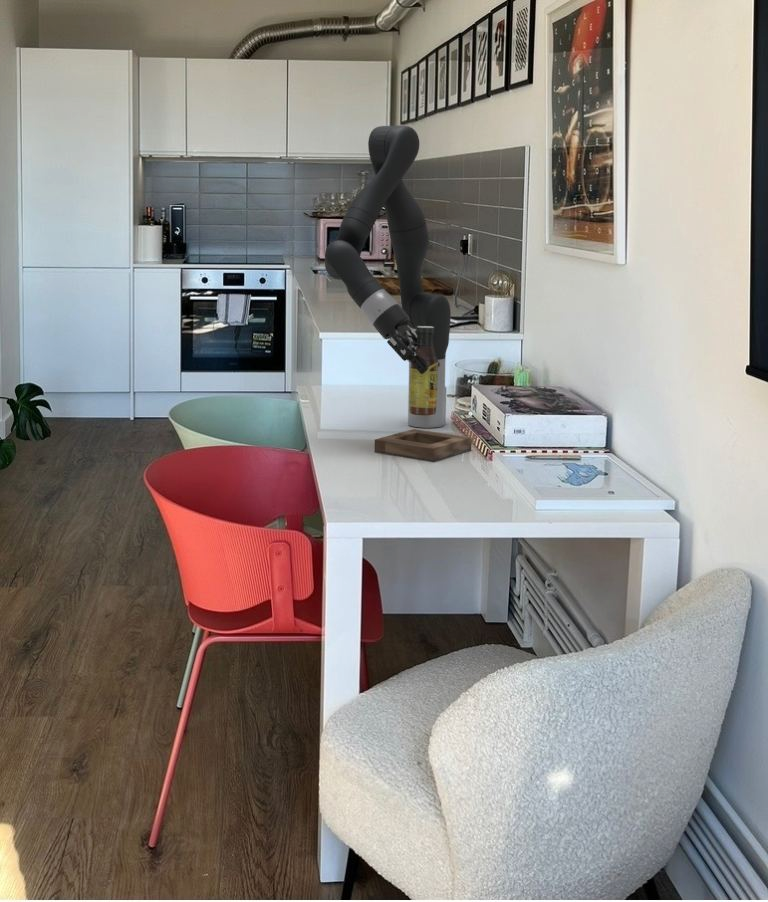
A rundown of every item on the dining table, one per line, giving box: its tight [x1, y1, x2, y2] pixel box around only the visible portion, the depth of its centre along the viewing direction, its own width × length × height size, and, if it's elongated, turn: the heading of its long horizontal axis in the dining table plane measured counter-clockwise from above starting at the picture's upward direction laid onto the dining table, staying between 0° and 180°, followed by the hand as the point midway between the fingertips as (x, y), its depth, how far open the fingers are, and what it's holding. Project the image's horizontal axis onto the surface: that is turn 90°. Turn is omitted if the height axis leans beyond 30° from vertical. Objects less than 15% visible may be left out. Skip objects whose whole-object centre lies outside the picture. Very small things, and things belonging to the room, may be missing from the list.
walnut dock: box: [373, 428, 473, 463], centre depth 277 cm, size 16×16×3 cm
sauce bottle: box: [409, 326, 438, 415], centre depth 273 cm, size 6×6×20 cm
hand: (431, 369), depth 272 cm, fingers closed on sauce bottle, 6 cm apart
